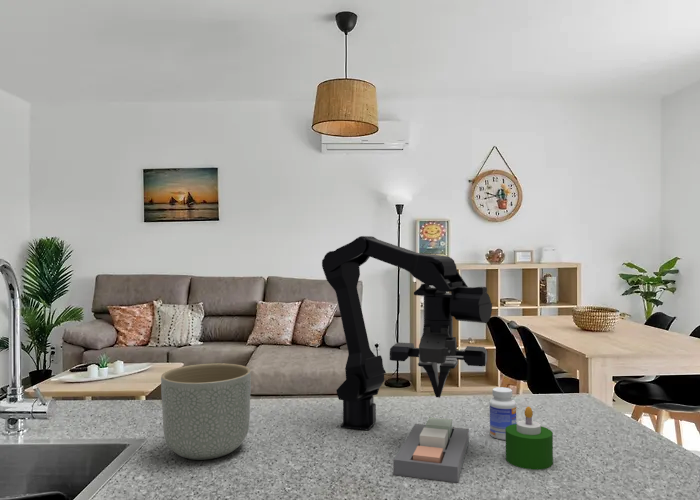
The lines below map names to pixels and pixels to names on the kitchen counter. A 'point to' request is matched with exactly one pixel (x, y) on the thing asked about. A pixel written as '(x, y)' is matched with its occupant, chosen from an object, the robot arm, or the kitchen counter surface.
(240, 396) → the planter
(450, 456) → the keypad
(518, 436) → the candle
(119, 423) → the kitchen counter surface
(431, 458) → the key terracotta
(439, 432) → the key white
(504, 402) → the pill bottle
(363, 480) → the kitchen counter surface
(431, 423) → the key sage
